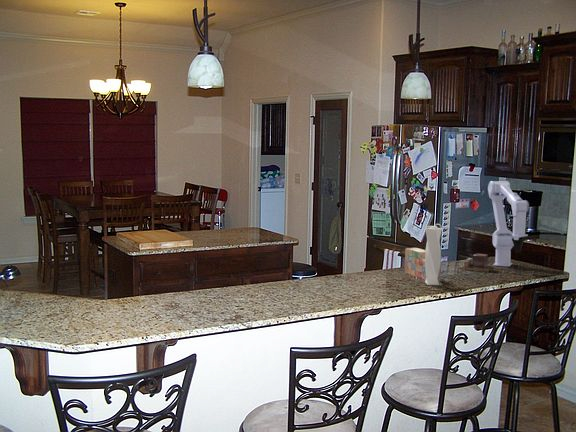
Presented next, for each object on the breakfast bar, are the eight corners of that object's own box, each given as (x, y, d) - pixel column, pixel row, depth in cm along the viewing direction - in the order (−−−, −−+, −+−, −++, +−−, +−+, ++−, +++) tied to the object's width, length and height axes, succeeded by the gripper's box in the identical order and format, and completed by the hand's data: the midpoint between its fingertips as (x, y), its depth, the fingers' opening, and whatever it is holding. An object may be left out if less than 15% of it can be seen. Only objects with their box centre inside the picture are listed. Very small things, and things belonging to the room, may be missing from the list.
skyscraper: (443, 286, 286) (446, 224, 283) (425, 286, 286) (427, 224, 283) (439, 282, 294) (441, 221, 291) (421, 282, 294) (423, 221, 291)
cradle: (469, 265, 332) (470, 256, 331) (492, 267, 326) (493, 258, 326) (464, 269, 321) (464, 260, 321) (488, 272, 316) (488, 262, 315)
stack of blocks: (441, 280, 297) (441, 254, 295) (429, 282, 294) (430, 255, 293) (415, 271, 316) (416, 247, 315) (404, 272, 314) (405, 247, 313)
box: (487, 268, 324) (488, 254, 323) (484, 270, 319) (485, 256, 318) (475, 267, 327) (476, 253, 327) (472, 269, 322) (472, 255, 321)
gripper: (525, 227, 307) (523, 255, 309) (530, 224, 320) (528, 251, 321) (509, 226, 310) (508, 254, 312) (515, 223, 323) (514, 249, 325)
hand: (517, 252), depth 317 cm, fingers closed
